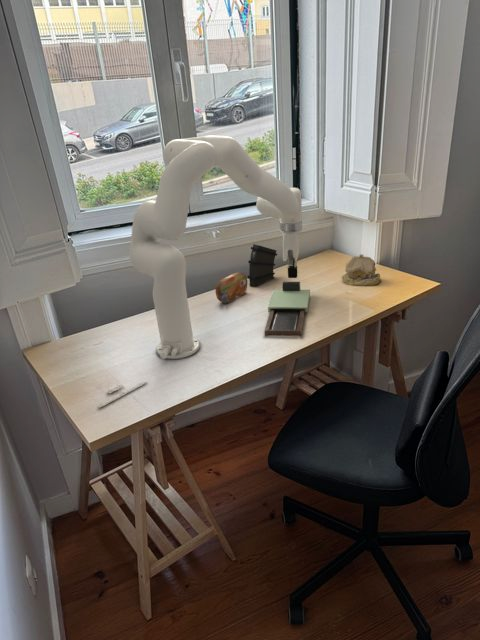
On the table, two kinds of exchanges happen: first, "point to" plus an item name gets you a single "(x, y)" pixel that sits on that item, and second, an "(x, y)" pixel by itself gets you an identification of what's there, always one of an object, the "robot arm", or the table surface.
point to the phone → (285, 321)
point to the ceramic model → (361, 271)
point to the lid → (289, 297)
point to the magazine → (261, 264)
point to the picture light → (115, 388)
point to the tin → (231, 287)
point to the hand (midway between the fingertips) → (292, 277)
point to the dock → (284, 332)
